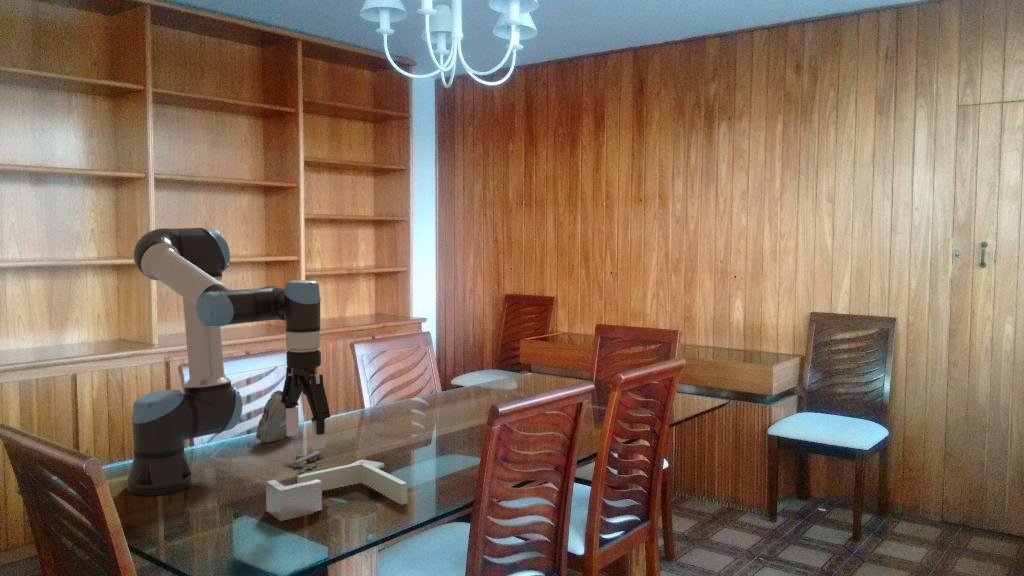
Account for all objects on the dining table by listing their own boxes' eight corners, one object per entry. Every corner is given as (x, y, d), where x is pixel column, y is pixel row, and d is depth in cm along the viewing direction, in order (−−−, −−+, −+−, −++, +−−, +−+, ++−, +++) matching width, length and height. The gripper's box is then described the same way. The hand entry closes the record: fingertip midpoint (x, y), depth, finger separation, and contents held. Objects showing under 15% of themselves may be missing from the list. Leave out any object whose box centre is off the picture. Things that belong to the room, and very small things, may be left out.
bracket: (280, 521, 179) (280, 490, 178) (266, 510, 185) (265, 481, 184) (322, 511, 185) (321, 481, 185) (307, 501, 191) (306, 472, 191)
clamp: (306, 448, 229) (335, 452, 225) (306, 455, 229) (335, 460, 225) (270, 463, 215) (301, 467, 211) (271, 471, 216) (301, 476, 212)
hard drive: (356, 475, 207) (384, 462, 218) (331, 471, 211) (359, 458, 222) (357, 482, 207) (384, 468, 219) (331, 477, 211) (360, 464, 222)
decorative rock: (285, 432, 253) (284, 385, 251) (302, 434, 250) (302, 386, 249) (250, 445, 238) (249, 395, 236) (268, 448, 235) (267, 397, 234)
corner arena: (338, 521, 179) (337, 499, 179) (297, 495, 195) (297, 475, 195) (407, 503, 190) (407, 482, 190) (363, 480, 207) (363, 461, 206)
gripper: (345, 354, 173) (346, 451, 175) (295, 341, 193) (297, 427, 194) (312, 358, 169) (314, 457, 170) (265, 344, 188) (267, 432, 190)
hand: (305, 441), depth 182 cm, fingers open, 13 cm apart
